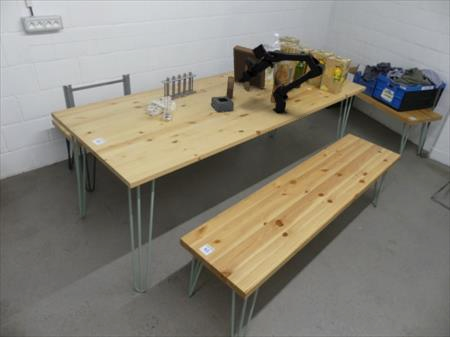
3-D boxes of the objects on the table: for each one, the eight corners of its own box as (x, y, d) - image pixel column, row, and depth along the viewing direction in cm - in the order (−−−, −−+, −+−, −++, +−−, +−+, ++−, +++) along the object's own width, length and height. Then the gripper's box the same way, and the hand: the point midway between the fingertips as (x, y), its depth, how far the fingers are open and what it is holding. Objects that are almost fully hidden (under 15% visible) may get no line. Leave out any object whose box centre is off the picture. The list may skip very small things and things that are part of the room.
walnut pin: (233, 98, 224) (235, 78, 217) (227, 99, 223) (229, 78, 216) (231, 96, 227) (233, 76, 220) (225, 96, 226) (227, 76, 219)
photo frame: (237, 79, 254) (241, 43, 241) (264, 87, 246) (270, 50, 232) (226, 85, 244) (229, 47, 230) (254, 94, 235) (259, 55, 221)
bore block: (233, 110, 209) (234, 102, 206) (217, 112, 205) (217, 103, 202) (226, 103, 216) (227, 96, 214) (211, 105, 213) (211, 97, 210)
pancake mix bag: (264, 101, 226) (270, 56, 210) (281, 94, 238) (289, 51, 223) (272, 104, 222) (280, 59, 207) (290, 97, 234) (298, 54, 219)
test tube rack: (165, 101, 212) (165, 79, 205) (160, 99, 214) (160, 77, 207) (196, 92, 228) (197, 71, 221) (191, 90, 231) (192, 69, 224)
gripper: (260, 50, 212) (241, 65, 222) (247, 57, 197) (227, 72, 207) (270, 66, 213) (251, 80, 223) (258, 74, 199) (238, 88, 209)
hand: (242, 80), depth 216 cm, fingers open, 9 cm apart
